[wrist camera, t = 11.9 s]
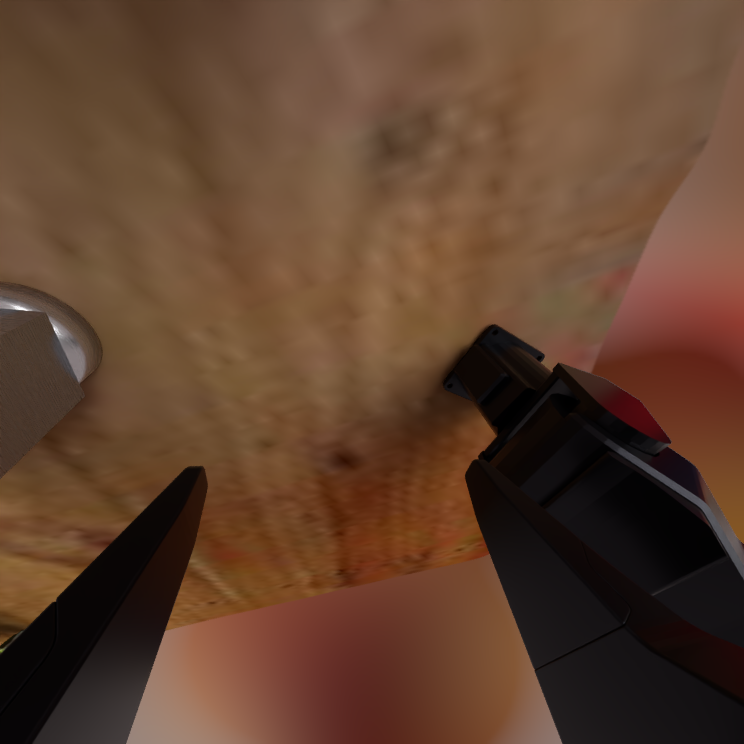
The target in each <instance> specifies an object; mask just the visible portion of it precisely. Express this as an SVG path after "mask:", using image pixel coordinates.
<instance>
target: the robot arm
mask: <svg viewBox="0 0 744 744" xmlns="http://www.w3.org/2000/svg"><path fill="white" fill-rule="evenodd" d="M494 330H495V332H494V333H492V332H493V331H494ZM544 357H545V355H544V354H543V353H542V352H540V351H539V350H537V349H536V348H534V347H532V346H531V345H529V344H527V343H526V342H524V341H523V340H521V339H519V338H518V337H516V336H514V335H513V334H511V333H509V332H508V331H506V330H504V329H503V328H501V327H500V326H498V325H495V324H494V325H491V326H489V327H488V328H487V330H486V331H485V332H484V333H483V335H482V336H481V337H480V338H479V339H478V341H477V342H476V343H475V344H474V345H473V347H472V348H471V349H470V350H469V351H468V353H467V354H466V355H465V356H464V357H463V359H462V360H461V361H460V362H459V363H458V365H457V366H456V367H455V368H454V370H453V371H452V372H451V373H450V374H449V376H448V377H447V378H446V379H445V380H444V382H443V387H444V388H445V390H447V391H449V392H452V393H454V394H457V395H459V396H461V397H464V398H466V399H469V400H471V401H472V402H473V403H474V404H475V406H476V407H477V409H478V410H479V412H480V413H481V414H482V416H483V417H484V419H485V420H486V421H487V423H488V424H489V426H490V427H491V429H492V430H493V431H494V433H495V434H496V436H497V437H496V438H495V439H494V440H493V441H492V443H491V444H490V445H489V446H488V447H487V448H486V449H485V451H482V452H481V453H480V454H479V455H478V459H475V460H473V461H472V463H471V464H470V466H469V468H468V470H467V471H466V474H465V479H466V483H467V487H468V490H469V494H470V498H471V501H472V505H473V508H474V512H475V515H476V518H477V521H478V524H479V527H480V530H481V532H482V535H483V537H484V540H485V543H486V545H487V548H488V551H489V553H490V555H491V558H492V561H493V564H494V566H495V569H496V571H497V574H498V576H499V579H500V582H501V584H502V587H503V590H504V592H505V595H506V597H507V600H508V603H509V605H510V608H511V610H512V613H513V616H514V618H515V621H516V623H517V626H518V629H519V631H520V634H521V637H522V639H523V642H524V644H525V647H526V649H527V652H528V655H529V657H530V660H531V662H532V665H533V667H534V669H535V673H536V676H537V679H538V681H539V684H540V686H541V689H542V692H543V694H544V697H545V700H546V702H547V705H548V707H549V710H550V712H551V715H552V718H553V720H554V723H555V725H556V728H557V730H558V733H559V736H560V739H561V741H562V744H744V544H743V543H742V542H740V540H739V539H738V538H737V537H736V535H735V534H734V532H733V530H732V528H731V526H730V525H729V523H728V521H727V519H726V518H725V516H724V514H723V512H722V511H721V509H720V507H719V505H718V504H717V502H716V500H715V498H714V497H713V495H712V493H711V491H710V490H709V488H708V486H707V485H706V483H705V481H704V479H703V477H702V476H701V474H700V472H699V471H698V469H697V468H696V466H694V465H693V464H692V463H691V462H690V461H688V460H687V459H685V458H684V457H682V456H681V455H679V454H678V453H676V452H675V451H674V450H672V449H671V448H669V447H668V445H670V444H671V440H670V438H669V437H668V436H667V435H666V433H665V432H664V431H663V429H662V428H661V427H660V425H659V424H658V423H657V421H656V420H655V419H654V418H653V416H652V415H651V414H650V412H649V411H648V410H647V408H646V407H645V406H644V405H643V403H642V402H641V401H640V400H639V399H637V398H635V397H634V396H632V395H631V394H629V393H627V392H626V391H624V390H622V389H621V388H619V387H618V386H616V385H614V384H613V383H611V382H610V381H608V380H607V379H604V378H602V377H599V376H596V375H593V374H590V373H587V372H585V371H582V370H579V369H576V368H573V367H570V366H567V365H565V364H562V363H558V364H557V365H556V366H555V367H554V368H553V372H551V371H550V370H549V369H547V368H546V367H545V366H544V365H543V364H541V362H542V360H543V359H544ZM450 383H451V384H450ZM448 384H450V385H448ZM207 487H208V483H207V478H206V473H205V469H204V467H203V466H189V467H187V468H185V469H184V470H183V471H182V472H181V473H180V474H179V475H178V476H177V477H176V478H175V479H174V480H173V481H172V482H171V483H170V484H169V485H168V486H167V488H166V489H165V490H164V491H163V492H162V493H161V494H160V495H159V496H158V497H157V498H156V499H155V500H154V501H153V502H152V503H151V504H150V505H149V506H148V507H147V508H146V509H145V510H144V511H143V512H142V513H141V514H140V515H139V516H138V517H137V518H136V519H135V520H134V521H133V522H132V523H131V524H130V525H129V526H128V527H127V528H126V529H125V530H124V531H123V532H122V533H121V534H120V535H119V536H118V537H117V538H116V539H115V540H114V541H113V542H112V543H111V544H110V545H109V546H108V547H107V548H106V549H105V550H104V551H103V552H102V553H101V554H100V555H99V556H98V557H97V558H96V559H95V560H94V561H93V562H92V563H91V564H90V565H89V566H88V567H87V568H86V569H85V570H84V571H83V572H82V573H81V574H80V575H79V576H78V577H77V578H76V579H75V580H74V581H73V582H72V583H71V584H70V585H69V586H68V587H67V588H66V589H65V590H64V591H63V592H62V593H61V594H60V595H59V596H58V597H57V599H56V602H52V603H51V604H50V605H49V606H48V607H47V608H46V609H45V610H44V611H43V612H42V613H41V614H40V615H39V616H38V617H37V618H36V619H35V620H34V621H33V622H32V623H31V624H30V625H29V626H28V627H27V628H26V629H25V630H24V631H23V632H22V633H21V634H20V635H19V636H18V637H17V638H16V639H15V640H14V641H13V642H12V643H11V644H10V645H9V646H8V647H7V648H6V649H5V650H4V651H2V652H1V653H0V744H126V742H127V739H128V736H129V734H130V731H131V728H132V725H133V722H134V719H135V716H136V713H137V710H138V707H139V704H140V701H141V699H142V696H143V693H144V690H145V687H146V684H147V681H148V678H149V676H150V673H151V670H152V667H153V664H154V661H155V658H156V655H157V652H158V650H159V646H160V644H161V641H162V638H163V635H164V632H165V629H166V626H167V624H168V621H169V618H170V615H171V612H172V609H173V606H174V603H175V600H176V597H177V595H178V592H179V589H180V586H181V583H182V580H183V577H184V574H185V571H186V569H187V566H188V563H189V560H190V557H191V554H192V551H193V548H194V545H195V541H196V537H197V532H198V528H199V524H200V519H201V515H202V510H203V506H204V502H205V497H206V493H207Z"/></svg>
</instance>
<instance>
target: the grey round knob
mask: <svg viewBox="0 0 744 744" xmlns="http://www.w3.org/2000/svg"><path fill="white" fill-rule="evenodd" d="M84 397H85V394H84V392H83V390H82V388H81V386H80V384H79V382H78V379H77V377H76V375H75V373H74V371H73V369H72V367H71V365H70V362H69V360H68V358H67V356H66V354H65V352H64V350H63V348H62V345H61V343H60V341H59V339H58V337H57V335H56V333H55V330H54V328H53V326H52V324H51V322H50V320H49V318H48V316H47V313H46V312H37V311H26V310H14V309H3V308H0V479H1V478H2V477H3V476H4V475H5V474H6V473H7V472H8V471H9V470H10V469H11V468H12V467H13V466H14V465H15V464H16V463H17V462H18V461H19V460H20V459H21V458H22V457H23V456H24V455H25V454H26V453H27V452H28V451H29V450H30V449H31V448H32V447H33V446H34V445H35V444H36V443H37V442H39V441H40V440H41V439H42V438H43V437H44V436H45V435H46V434H47V433H48V432H49V431H50V430H51V429H52V428H53V427H54V426H55V425H56V424H57V423H58V422H59V421H60V420H61V419H62V418H63V417H64V416H65V415H66V414H67V413H68V412H69V411H70V410H71V409H72V408H73V407H74V406H75V405H76V404H77V403H78V402H79V401H80V400H82V399H83V398H84Z"/></svg>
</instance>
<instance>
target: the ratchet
mask: <svg viewBox="0 0 744 744" xmlns="http://www.w3.org/2000/svg"><path fill="white" fill-rule="evenodd" d="M0 308H3V309H14V310H26V311H37V312H46V313H47V316H48V318H49V320H50V322H51V324H52V326H53V328H54V330H55V333H56V335H57V337H58V339H59V341H60V343H61V345H62V348H63V350H64V352H65V354H66V356H67V358H68V360H69V362H70V365H71V367H72V369H73V371H74V373H75V375H76V377H77V379H78V382H79V384H80V383H81V382H82V381H83V380H84V379H85V378H87V377H88V376H89V375H90V374H91V373H92V372H93V371H94V370H95V369H96V368H97V367H98V366H99V364H100V362H101V358H102V347H101V343H100V340H99V338H98V336H97V334H96V333H95V331H94V330H93V328H92V327H91V326H90V325H89V323H88V322H87V321H86V320H85V319H84V318H83V317H82V316H81V315H80V314H78V313H77V312H76V311H75V310H73V309H72V308H71V307H69V306H68V305H66V304H65V303H63V302H62V301H60V300H58V299H56V298H54V297H52V296H50V295H48V294H46V293H44V292H41V291H39V290H36V289H33V288H30V287H27V286H23V285H18V284H14V283H6V282H0Z"/></svg>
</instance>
